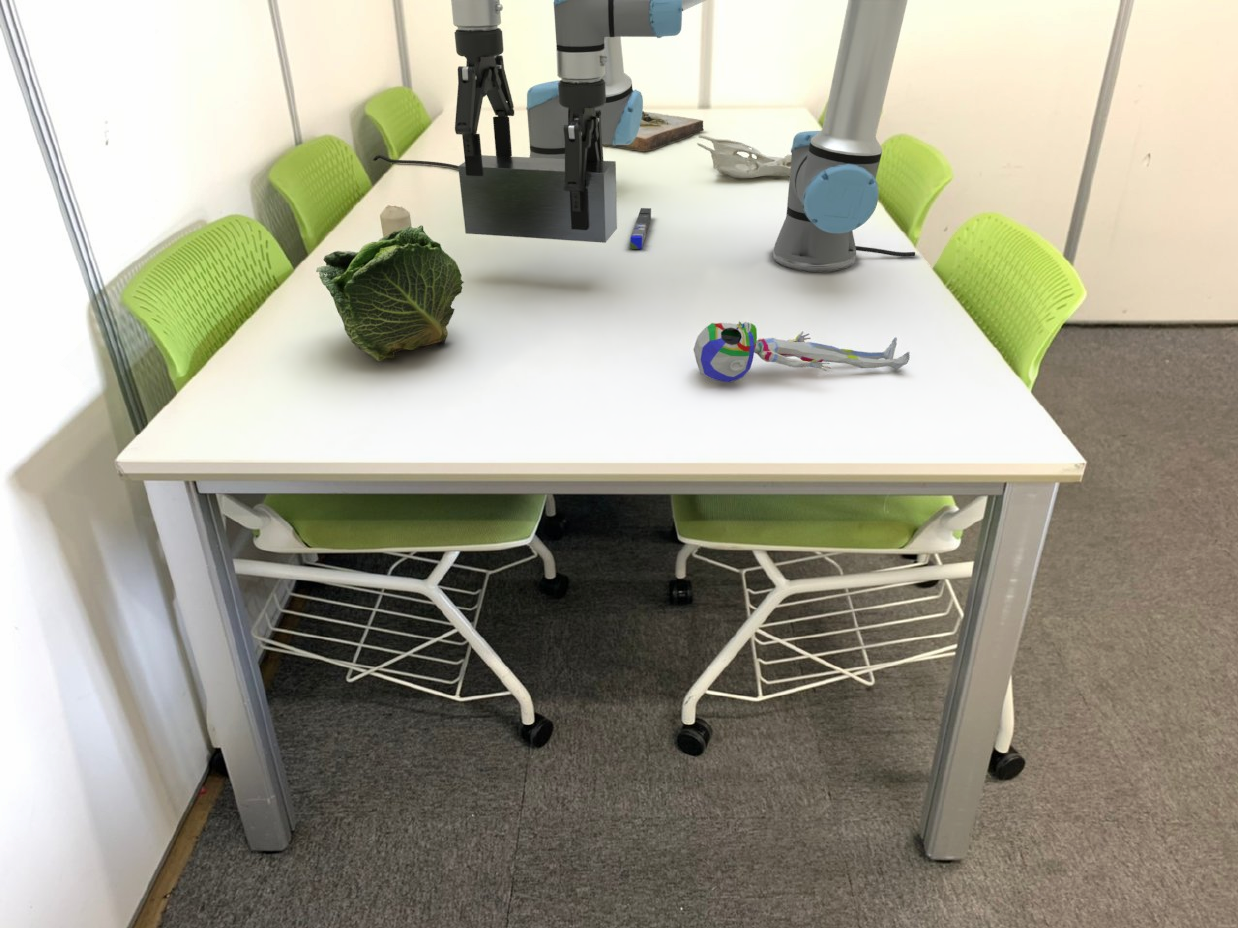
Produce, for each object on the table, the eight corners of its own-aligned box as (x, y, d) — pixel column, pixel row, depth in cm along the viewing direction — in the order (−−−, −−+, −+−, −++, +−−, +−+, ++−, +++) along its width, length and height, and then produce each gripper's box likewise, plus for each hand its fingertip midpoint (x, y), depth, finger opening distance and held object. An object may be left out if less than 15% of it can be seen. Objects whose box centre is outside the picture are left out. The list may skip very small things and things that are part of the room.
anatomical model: (699, 131, 223) (801, 130, 220) (699, 169, 228) (798, 168, 225) (695, 146, 211) (802, 144, 207) (695, 185, 216) (799, 184, 212)
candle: (421, 255, 174) (414, 203, 169) (406, 264, 170) (398, 212, 164) (396, 252, 176) (388, 201, 170) (381, 261, 171) (372, 209, 166)
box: (465, 233, 156) (457, 166, 150) (482, 220, 163) (475, 155, 157) (605, 243, 151) (603, 173, 145) (617, 228, 157) (615, 161, 151)
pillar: (651, 208, 191) (641, 238, 174) (650, 218, 192) (641, 249, 175) (640, 208, 191) (630, 238, 174) (640, 218, 192) (630, 249, 175)
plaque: (647, 125, 237) (559, 112, 252) (647, 153, 241) (560, 139, 256) (706, 107, 258) (622, 97, 273) (705, 133, 262) (622, 121, 277)
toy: (920, 350, 124) (709, 333, 119) (901, 404, 128) (697, 389, 123) (893, 321, 132) (695, 304, 127) (877, 373, 137) (685, 357, 132)
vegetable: (383, 372, 146) (305, 267, 139) (481, 306, 148) (409, 199, 140) (387, 399, 128) (297, 280, 120) (499, 324, 129) (417, 201, 122)
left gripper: (469, 38, 130) (483, 185, 142) (526, 19, 151) (534, 149, 162) (422, 37, 132) (439, 183, 143) (485, 19, 153) (495, 147, 164)
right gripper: (586, 91, 132) (591, 242, 145) (620, 69, 149) (622, 205, 161) (538, 90, 134) (547, 239, 146) (577, 68, 151) (582, 203, 163)
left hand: (490, 165), depth 153 cm, fingers open, 13 cm apart
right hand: (586, 221), depth 154 cm, fingers closed on box, 8 cm apart
